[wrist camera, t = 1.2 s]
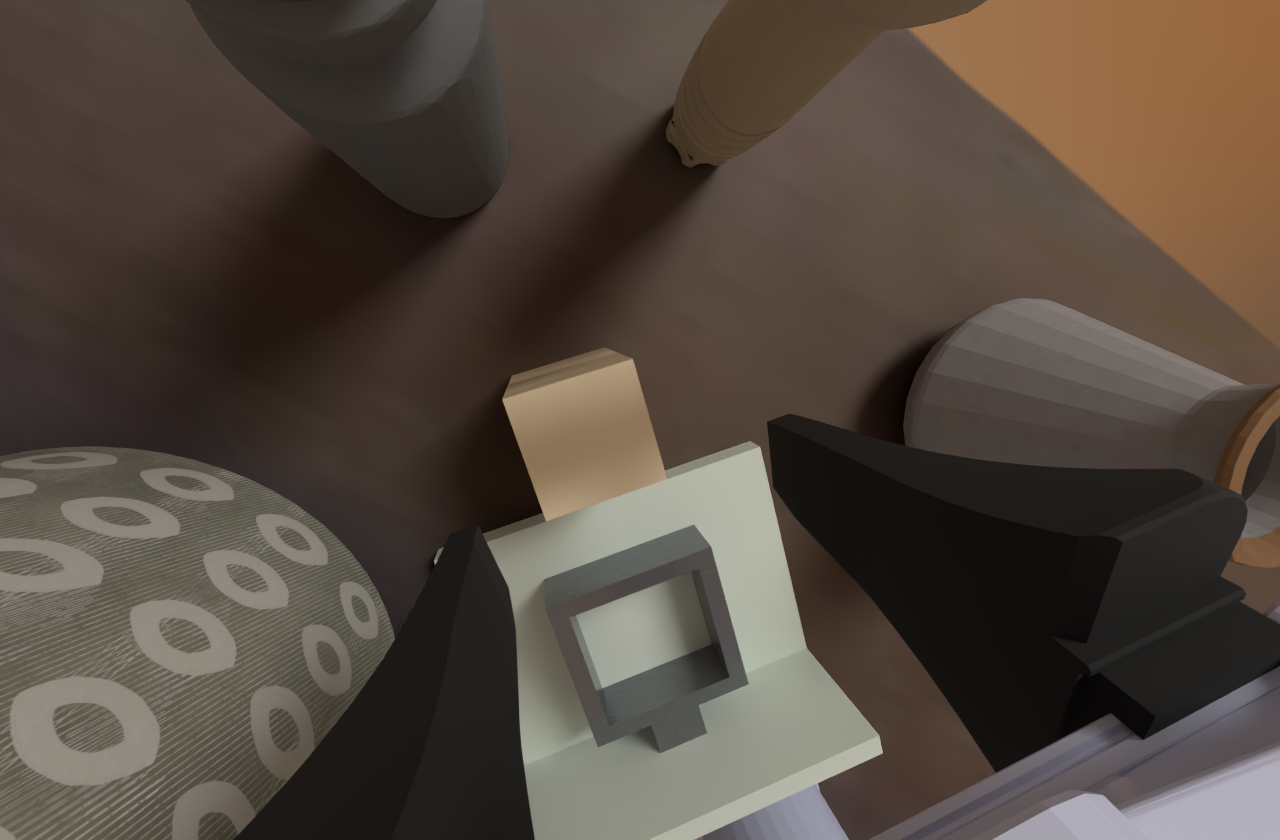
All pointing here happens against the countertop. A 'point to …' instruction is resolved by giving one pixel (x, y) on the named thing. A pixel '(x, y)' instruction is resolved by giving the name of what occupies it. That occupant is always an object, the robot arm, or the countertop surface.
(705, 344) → the countertop surface
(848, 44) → the handle
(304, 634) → the planter
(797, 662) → the mounting board
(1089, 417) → the coffee pot
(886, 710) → the countertop surface
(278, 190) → the countertop surface
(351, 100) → the bottle
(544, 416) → the oak post
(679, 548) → the grey square frame
